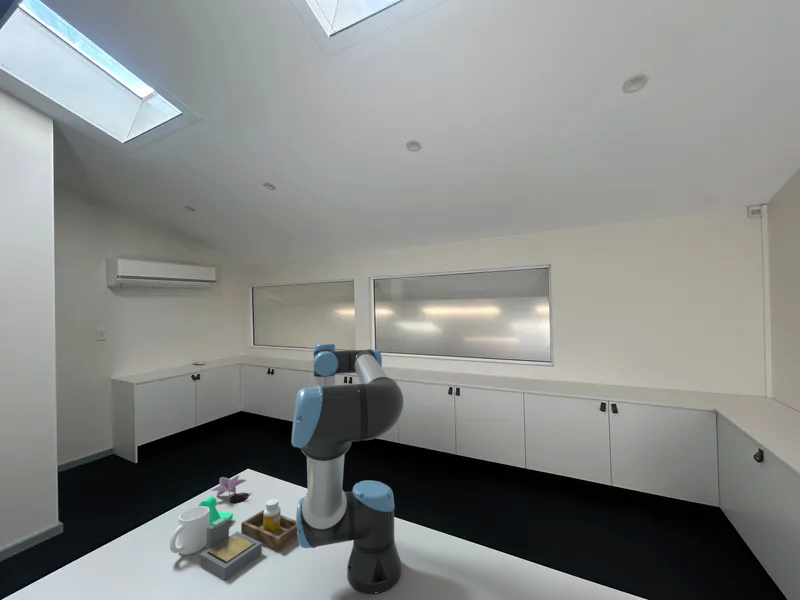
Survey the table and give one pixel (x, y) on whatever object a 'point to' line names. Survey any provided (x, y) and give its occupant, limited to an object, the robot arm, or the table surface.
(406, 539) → the table surface
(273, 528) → the supplement bottle
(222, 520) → the grey stepped block
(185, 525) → the mug
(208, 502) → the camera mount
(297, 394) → the robot arm
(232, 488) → the lily
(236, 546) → the contact pad
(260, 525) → the trough
